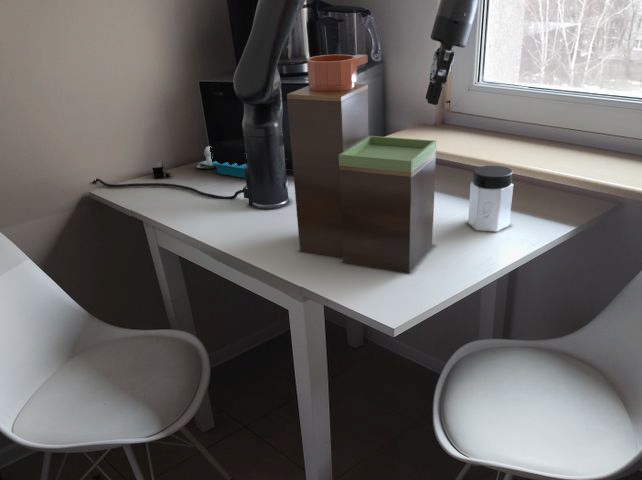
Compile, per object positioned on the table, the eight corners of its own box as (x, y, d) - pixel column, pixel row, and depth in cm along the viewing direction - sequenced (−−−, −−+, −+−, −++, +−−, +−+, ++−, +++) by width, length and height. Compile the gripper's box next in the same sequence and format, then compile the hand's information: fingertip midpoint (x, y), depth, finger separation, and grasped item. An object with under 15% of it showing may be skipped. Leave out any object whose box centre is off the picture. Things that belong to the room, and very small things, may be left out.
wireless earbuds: (154, 180, 176) (152, 168, 174) (154, 173, 182) (152, 161, 180) (171, 178, 177) (168, 166, 175) (170, 171, 183) (168, 160, 181)
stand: (325, 230, 139) (316, 82, 122) (432, 245, 129) (438, 87, 112) (295, 255, 128) (281, 96, 112) (409, 273, 119) (412, 103, 102)
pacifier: (192, 169, 184) (206, 171, 181) (188, 147, 181) (202, 149, 177) (210, 162, 189) (224, 165, 185) (207, 141, 185) (220, 143, 182)
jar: (465, 230, 135) (469, 175, 129) (470, 216, 142) (474, 164, 135) (507, 233, 133) (513, 177, 126) (510, 219, 139) (516, 166, 133)
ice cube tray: (237, 162, 187) (236, 152, 186) (291, 170, 178) (290, 160, 176) (211, 173, 179) (209, 162, 178) (266, 182, 170) (265, 171, 168)
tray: (368, 145, 124) (368, 135, 123) (436, 151, 119) (436, 140, 118) (338, 165, 114) (338, 154, 112) (411, 172, 108) (411, 161, 107)
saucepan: (342, 73, 129) (341, 47, 126) (382, 75, 126) (382, 47, 123) (300, 90, 115) (298, 61, 113) (344, 92, 112) (343, 62, 109)
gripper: (434, 14, 131) (412, 95, 138) (439, 12, 118) (414, 100, 126) (468, 23, 131) (445, 103, 138) (476, 22, 118) (450, 110, 126)
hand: (430, 102), depth 132 cm, fingers open, 8 cm apart
